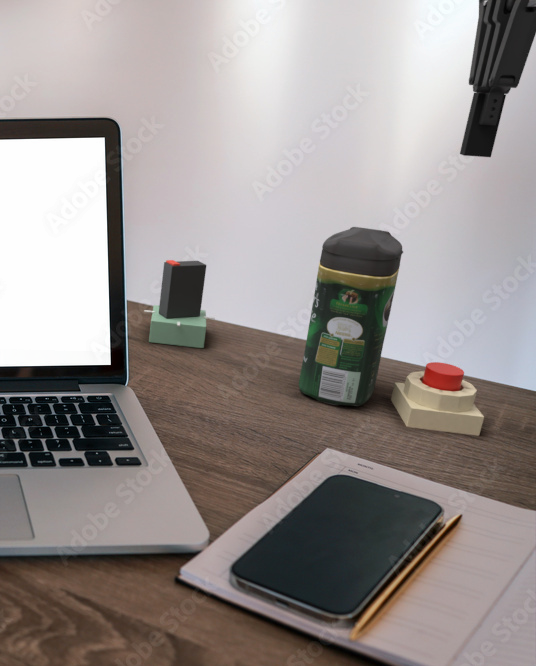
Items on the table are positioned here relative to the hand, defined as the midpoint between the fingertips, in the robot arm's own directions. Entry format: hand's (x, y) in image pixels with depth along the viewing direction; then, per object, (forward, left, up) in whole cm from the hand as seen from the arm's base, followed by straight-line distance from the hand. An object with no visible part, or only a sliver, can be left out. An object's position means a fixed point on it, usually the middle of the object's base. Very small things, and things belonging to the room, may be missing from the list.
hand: (475, 155), depth 85 cm
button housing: (+2, +12, -26) cm, 29 cm away
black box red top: (+29, -5, -23) cm, 38 cm away
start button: (+2, +12, -23) cm, 26 cm away
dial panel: (+30, -5, -26) cm, 40 cm away
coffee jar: (+12, +8, -27) cm, 30 cm away
